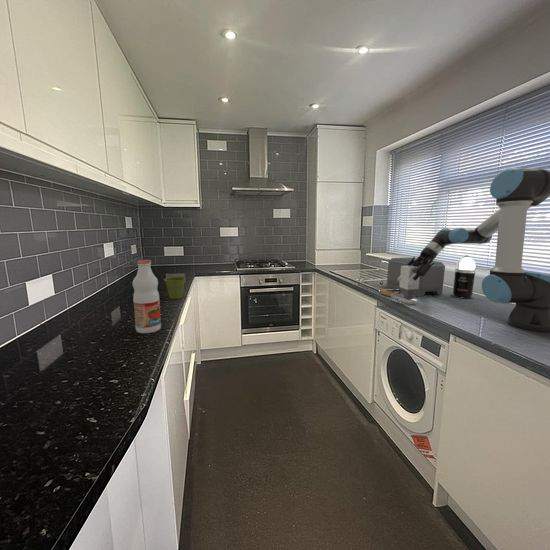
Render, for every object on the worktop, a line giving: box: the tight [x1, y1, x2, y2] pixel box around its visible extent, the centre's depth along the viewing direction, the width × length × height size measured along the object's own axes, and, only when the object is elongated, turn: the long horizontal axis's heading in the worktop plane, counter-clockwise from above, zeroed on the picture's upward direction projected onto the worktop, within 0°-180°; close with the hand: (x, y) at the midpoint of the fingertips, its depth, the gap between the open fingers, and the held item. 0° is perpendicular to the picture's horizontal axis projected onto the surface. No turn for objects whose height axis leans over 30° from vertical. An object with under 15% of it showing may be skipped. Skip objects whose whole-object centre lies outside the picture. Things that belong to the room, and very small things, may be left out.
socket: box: [399, 266, 420, 290], centre depth 160 cm, size 7×7×12 cm
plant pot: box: [163, 276, 187, 300], centre depth 167 cm, size 12×12×11 cm
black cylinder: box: [452, 254, 477, 299], centre depth 175 cm, size 10×10×25 cm
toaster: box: [386, 257, 446, 298], centre depth 192 cm, size 19×33×20 cm, turn 19°
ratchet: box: [380, 289, 419, 306], centre depth 169 cm, size 27×10×8 cm, turn 15°
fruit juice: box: [132, 259, 162, 334], centre depth 115 cm, size 9×9×28 cm
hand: (403, 282), depth 160 cm, fingers closed on socket, 7 cm apart
